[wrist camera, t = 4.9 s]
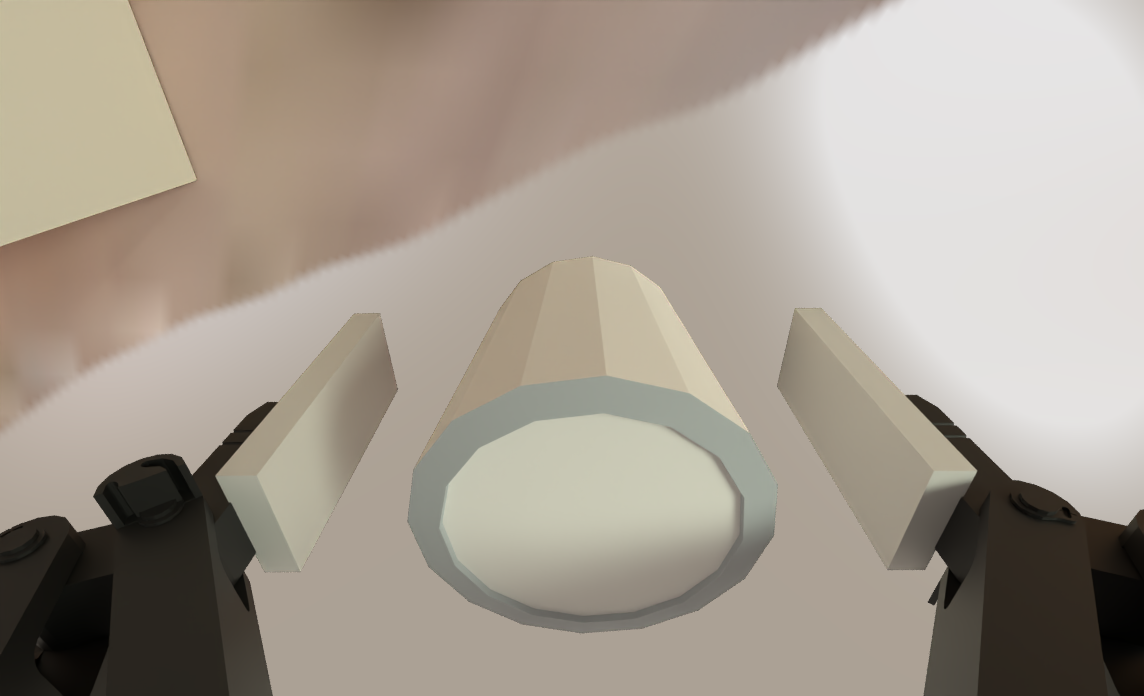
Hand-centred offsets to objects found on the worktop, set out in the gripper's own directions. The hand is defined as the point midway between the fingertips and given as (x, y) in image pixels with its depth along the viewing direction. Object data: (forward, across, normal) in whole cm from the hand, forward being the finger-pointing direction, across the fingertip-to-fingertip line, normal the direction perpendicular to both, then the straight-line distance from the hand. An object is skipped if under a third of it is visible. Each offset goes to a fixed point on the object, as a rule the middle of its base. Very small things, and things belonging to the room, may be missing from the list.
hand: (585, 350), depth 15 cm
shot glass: (0, 0, 0) cm, 0 cm away
